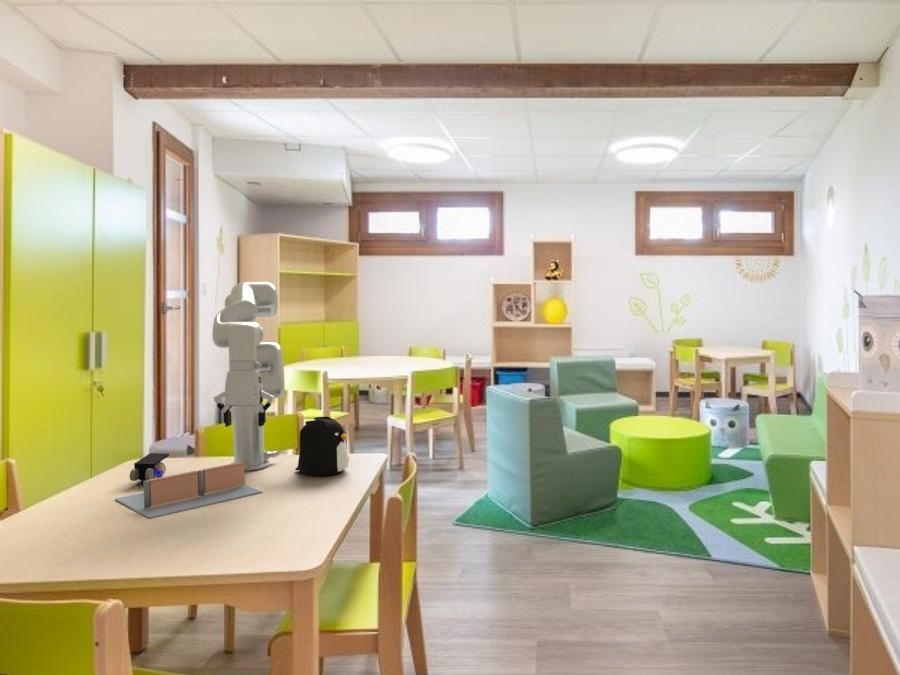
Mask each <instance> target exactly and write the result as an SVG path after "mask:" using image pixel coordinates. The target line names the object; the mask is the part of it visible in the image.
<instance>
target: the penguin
mask: <svg viewBox="0 0 900 675" xmlns="http://www.w3.org/2000/svg"><path fill="white" fill-rule="evenodd" d="M347 437H349V435H347V434H345V429H344V427H343V426H342V425H341V423H339V422H338V421H337V420H336V419H333V418H331V417H330V416H317V417H313V420H306V421H305V425H303V427H302V428H301V429H300V431H299V454H298V462H297V467H295V471H299V472H301V473H302V474H306V475H308V476H317V477H321V476H324V477H326V476H327V477H330V476H334V475H337V474H341V473H342V472H343V471H345V469H347V468H348V466H349V461H350V455H349V453H348V450H347V444H346V440H347Z"/></svg>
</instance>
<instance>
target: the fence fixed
mask: <svg viewBox="0 0 900 675" xmlns="http://www.w3.org/2000/svg"><path fill="white" fill-rule="evenodd" d="M142 486H143V488H142V489H143V493H144V508H148V507H151V506H156V505H161V504H165V503H170V502H174V501H179V500H184V499H188V498H193V497H197V496H204V477H203V469H200V470H192V471H187V472H182V473H177V474H172V475H171V474H170V475H166V476H161V477H158V478H155V479H149V480H146V481H143V485H142Z"/></svg>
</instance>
